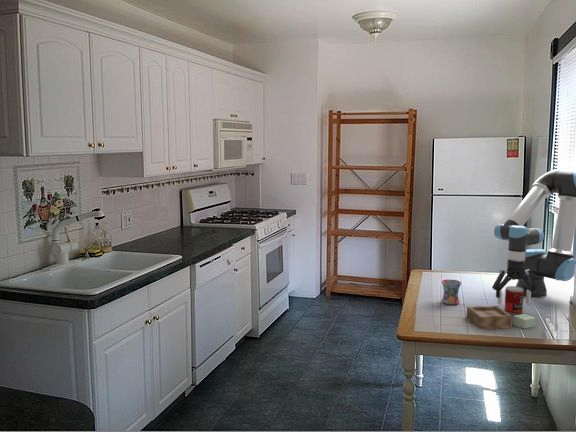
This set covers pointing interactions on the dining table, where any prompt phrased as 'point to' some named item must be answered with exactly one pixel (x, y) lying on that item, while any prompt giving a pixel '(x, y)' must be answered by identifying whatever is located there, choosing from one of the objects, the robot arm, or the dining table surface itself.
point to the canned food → (514, 299)
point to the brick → (524, 321)
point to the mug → (450, 291)
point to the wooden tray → (489, 317)
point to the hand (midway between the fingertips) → (513, 304)
